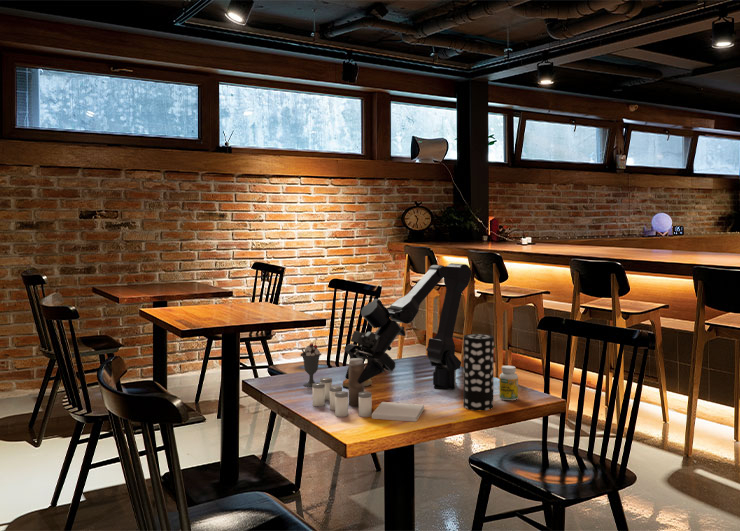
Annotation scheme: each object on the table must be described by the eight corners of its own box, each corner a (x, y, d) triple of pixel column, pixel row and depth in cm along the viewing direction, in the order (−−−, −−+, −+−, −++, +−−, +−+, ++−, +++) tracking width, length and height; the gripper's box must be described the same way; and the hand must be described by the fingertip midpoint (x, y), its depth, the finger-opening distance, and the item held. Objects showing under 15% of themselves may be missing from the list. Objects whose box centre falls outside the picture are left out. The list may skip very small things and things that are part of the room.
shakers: (328, 396, 194) (328, 376, 194) (374, 415, 175) (374, 393, 175) (303, 401, 189) (303, 381, 189) (347, 421, 170) (347, 398, 170)
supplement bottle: (519, 397, 193) (519, 365, 192) (516, 402, 188) (517, 369, 187) (500, 396, 194) (501, 364, 194) (497, 400, 189) (498, 368, 189)
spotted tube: (475, 412, 178) (475, 340, 176) (457, 404, 185) (457, 335, 184) (499, 408, 181) (500, 337, 180) (481, 401, 189) (481, 333, 188)
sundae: (325, 383, 210) (325, 337, 209) (315, 388, 204) (314, 341, 203) (307, 381, 213) (307, 336, 212) (297, 386, 207) (296, 339, 206)
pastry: (351, 390, 202) (351, 378, 202) (337, 386, 207) (337, 375, 207) (373, 385, 209) (373, 373, 208) (359, 381, 213) (359, 370, 213)
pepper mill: (365, 402, 187) (365, 358, 187) (361, 407, 183) (361, 361, 182) (351, 401, 188) (351, 357, 188) (347, 405, 184) (346, 360, 183)
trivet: (423, 408, 181) (423, 404, 181) (416, 421, 169) (416, 417, 169) (382, 406, 184) (382, 401, 184) (371, 418, 172) (371, 414, 172)
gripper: (349, 316, 194) (318, 357, 188) (387, 324, 179) (354, 369, 173) (370, 340, 199) (340, 380, 194) (409, 349, 184) (378, 393, 178)
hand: (352, 380), depth 185 cm, fingers open, 6 cm apart
